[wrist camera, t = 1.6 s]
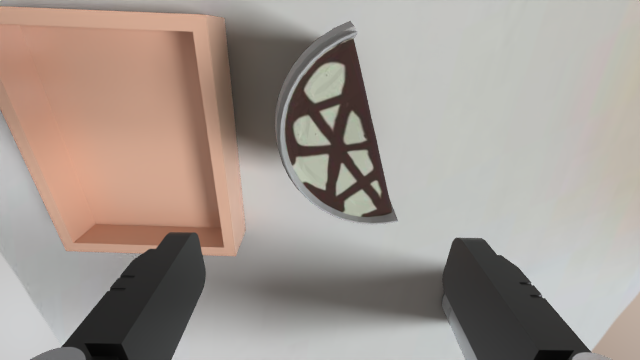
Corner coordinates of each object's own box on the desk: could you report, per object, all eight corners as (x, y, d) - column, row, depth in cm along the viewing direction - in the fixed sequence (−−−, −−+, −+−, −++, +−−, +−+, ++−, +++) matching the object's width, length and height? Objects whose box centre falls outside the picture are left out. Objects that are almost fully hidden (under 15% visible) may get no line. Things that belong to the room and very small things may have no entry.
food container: (266, 50, 23) (232, 60, 14) (340, 25, 22) (354, 18, 13) (312, 181, 28) (308, 249, 19) (374, 165, 28) (399, 228, 19)
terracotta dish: (224, 17, 22) (205, 14, 18) (245, 230, 31) (235, 256, 27) (12, 9, 22) (-49, 4, 18) (95, 225, 31) (66, 251, 27)
